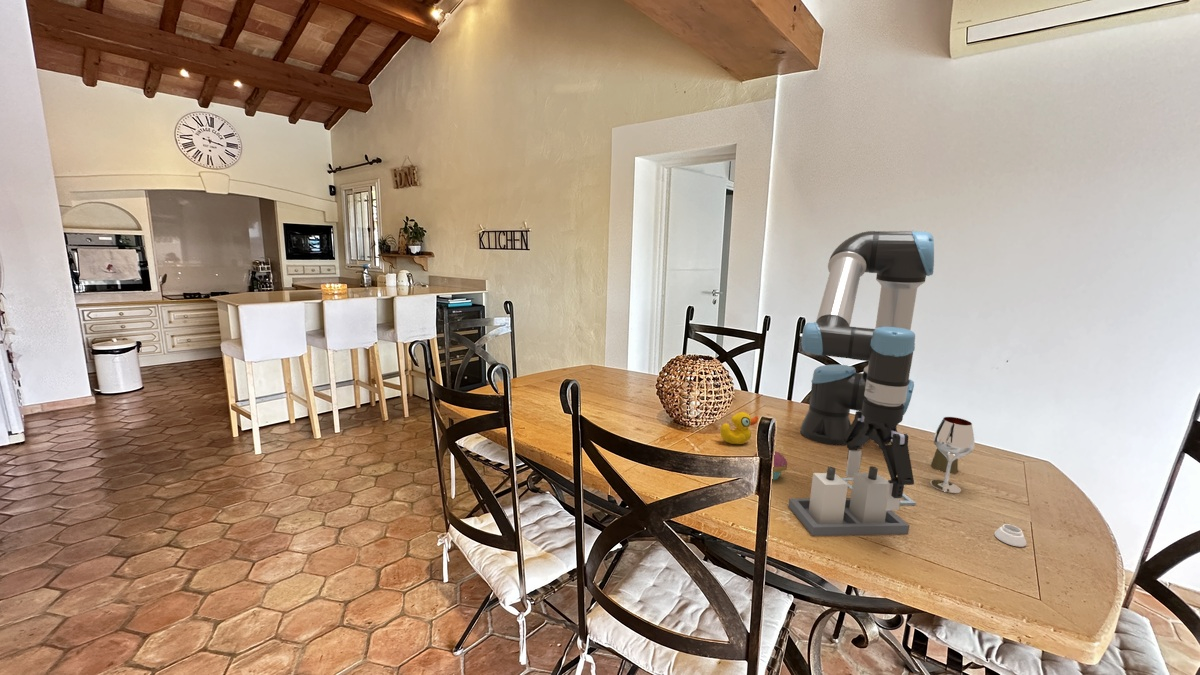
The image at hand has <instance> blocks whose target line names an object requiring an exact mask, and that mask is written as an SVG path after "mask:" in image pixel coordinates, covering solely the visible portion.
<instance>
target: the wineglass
mask: <svg viewBox="0 0 1200 675" xmlns="http://www.w3.org/2000/svg"><path fill="white" fill-rule="evenodd" d="M974 435H975V434H974V428H973V423H972V422H971V421H969V420H967V419H965V418H960V417H954V416H943V417H942V420H941V421H940V423H939V425H938V427H937V429H936V430H935V433H934V435H933V444H934V445H935V447H936V449H937V448H938V450H939V451H940V452H941V453H942V454H943V455H944V456H945V457H946V458H947V460H948V464H947V469H946V472H945V476H944V479H943V480H942V479H931V480H930V483H929V484H930V486H932V487H933V488H935V489H937V490H939V491H941V492H945V493H948V494H960V493H961V492H962V489H961V488H960V487H959V486H958V485H956V484H955V483H952V482H950V481H949V479H950V474H951V473H950V469H951V464H952V462H953V461H954V460H955V459H958V460H959V459H961V458H963V457H966V456H968V455H969V454H971V453H972V452H973V451H974V449H975V446H976V445H975V436H974Z"/></svg>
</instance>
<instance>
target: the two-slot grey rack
mask: <svg viewBox="0 0 1200 675" xmlns="http://www.w3.org/2000/svg"><path fill="white" fill-rule="evenodd" d="M850 500H851V497H846V502H845V509H844V517H843V524H817V523H816V522H815V520H814V519H813V518H812V517H811V516H810V515H809V513H808V512H809V504H810V497H806V498H805V497H803V498H800V497H799V498H792V497H791V498H789V499H788V508H789V509H790V510H791V512H792V513H793V514H794V515H795V517H796V518H797V519H798V520H799V521H800V523H801V524H802V525H803V526H804V527H805V529H806V530H807V531H808V533H809V534H810V535H811V537H822V536H823V537H826V536H827V537H829V536H836V537H837V536H875V535H876V536H880V535H881V536H882V535H885V536H887V535H889V536H890V535H909V531H910V524H908V523H907V522H906V521H905V520H903V519H902V518H901V517H900V516H899V515H898V514H897V513H895V512H894V511H886V518H885V523H862V524H861V523H860V522H859V521H858V520H857V519H856V518H855V517H854V516H853V515H852V514H851V513H850V512H849V507H850Z"/></svg>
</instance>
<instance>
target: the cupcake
mask: <svg viewBox="0 0 1200 675" xmlns="http://www.w3.org/2000/svg"><path fill="white" fill-rule="evenodd" d="M774 451H775V455H774V467H773V480H772V481H776V480H778V479H779V478H780V475H781V473H782V472H783V471H786V470H787V469H788V461H787V459H786V458H785V456H784V455H783V454H782V453H780V452H777V451H776V450H774ZM753 456H757V452H756V453H754V455H753Z"/></svg>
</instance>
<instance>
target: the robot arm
mask: <svg viewBox="0 0 1200 675" xmlns="http://www.w3.org/2000/svg"><path fill="white" fill-rule="evenodd" d="M934 266H935V243H934V236H933V234H932V233H930V232H927V231H918V230H916V231H915V230H899V231H898V230H890V231H889V230H888V231H887V230H886V231H885V230H884V231H881V230H880V231H875V230H869V231H868V230H867V231H864V232H863V231H862V232H859V233H856V234H854V235H852V236H851V237H848V238H847V239H845V240H844V241H842V242H841V243H840V244H839V245H838V246H837V247H836V248H835V249H834V251H833V252H832V254H831V255H830V258H829V261H828V263H827V269H828V272H829V273H828V277H827V282H826V284H825V289H824V291H823V296H822V299H821V303H820V307H819V310H818V314H817V316H816V320H815V321H814V322H807V323H805V325H804V326H803V329H802V336H801V348H802V349H801V350H802V351H803V352H804V353H807V354H808V353H809V354H813V355H817V356H825V357H831V358H832V357H834V358H843V359H851V360H857V361H865V362H868V364H867V365H866V366H864V368H863V372H856V371H857V370H856V368H855V367H854V366H852V365H848V364H847V365H846V364H825V365H820V366H818V367H816V368H815V369H814V371H813V374H812V379H811V389H810V398H809V407H808V411H807V412H806V415H805V417H804V419H803V421H802V423H801V425H800V434H801V435H802V436H803V437H804V438H806V439H808V440H810V441H813V442H816V443H819V444H823V445H829V446H846V447H847V449H848V450H847V457H846V458H847V462H846V467H845V469H846V470H845V478H854V473H860V467H861V461H862V453H863V451H862V449H863V446H864V445H866V444H867V443H868V442H869V441H872V442H874V443H875V444H876V445H877V446H878V449H879V450H880V451H881V452H882V454H883V457H884V460H885V465H886V467H887V471H888V474H889V477H890V479H887V481H888V483H887V489H886V495H885V501H884V508H883V509H884V510H886V511H893V512H894V511H899V508H900V505H899V504H900V501H901V499H903V498H902V495H903V493H904V488H905V486H912V485H914V484H915V479H914V473H913V467H912V460H911V457H910V450H909V435H908V433H900V432H898V430H897V426H898V425H899V424H900V423H902V422H903V417H904V416H905V414H906V412H907V410H908V408H909V406H910V404H911V403H910V402H911V399H912V396H913V391H914V387H915V381H913V380H912V379H910V374H911V368H912V363H913V357H914V351H915V350H916V349H915V348H916V343H915V342H916V334H915V332H914V331H913V330H911V328H912V322H913V317H914V310H915V305H916V299H917V292H918V288H919V287H920V286H922V285H923V284H925V283H926V279H927V276H928V277H930V276H933V274H934ZM865 273H870V274H876V278H875V280H876V281H877V283H879V285H880V287H881V288H880V294H879V302H878V307H877V315H876V321H875V328H869V327H859V326H857V327H856V326H851V322H852V319H853V317H852V316H853V312H854V308H855V303H856V298H857V293H858V288H859V285H860V279H861V277H862V276H864V274H865ZM851 410H852V411H855V414H854V419H853V420H852V423H851V420H850V411H851Z"/></svg>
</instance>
